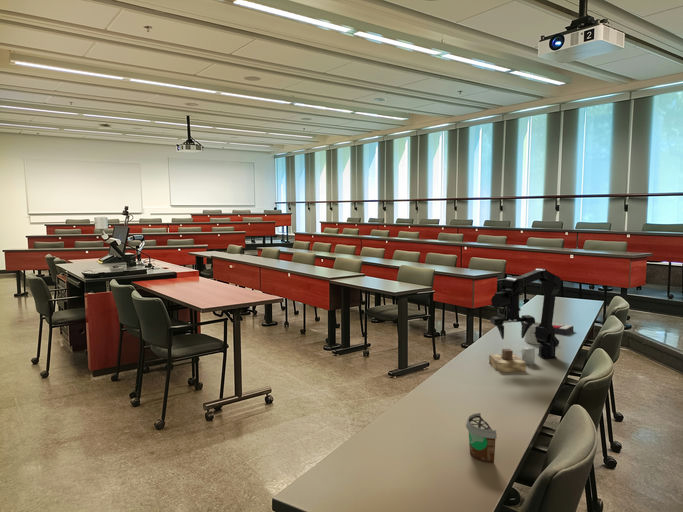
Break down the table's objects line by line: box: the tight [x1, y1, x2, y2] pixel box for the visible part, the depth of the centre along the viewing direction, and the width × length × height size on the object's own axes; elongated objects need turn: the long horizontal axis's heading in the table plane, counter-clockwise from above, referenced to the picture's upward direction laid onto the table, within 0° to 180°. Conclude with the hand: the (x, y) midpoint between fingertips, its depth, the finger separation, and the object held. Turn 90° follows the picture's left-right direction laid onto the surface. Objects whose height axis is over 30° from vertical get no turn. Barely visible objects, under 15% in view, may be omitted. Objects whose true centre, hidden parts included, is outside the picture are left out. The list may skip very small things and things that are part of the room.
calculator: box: [552, 322, 574, 336], centre depth 269 cm, size 11×4×15 cm
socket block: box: [488, 353, 527, 373], centre depth 209 cm, size 12×12×4 cm
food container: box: [465, 412, 498, 464], centre depth 134 cm, size 12×6×10 cm, turn 5°
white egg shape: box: [521, 346, 536, 366], centre depth 214 cm, size 6×6×7 cm
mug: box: [523, 321, 541, 345], centre depth 247 cm, size 14×11×10 cm
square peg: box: [501, 348, 514, 360], centre depth 208 cm, size 3×3×8 cm
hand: (512, 338), depth 211 cm, fingers open, 9 cm apart
